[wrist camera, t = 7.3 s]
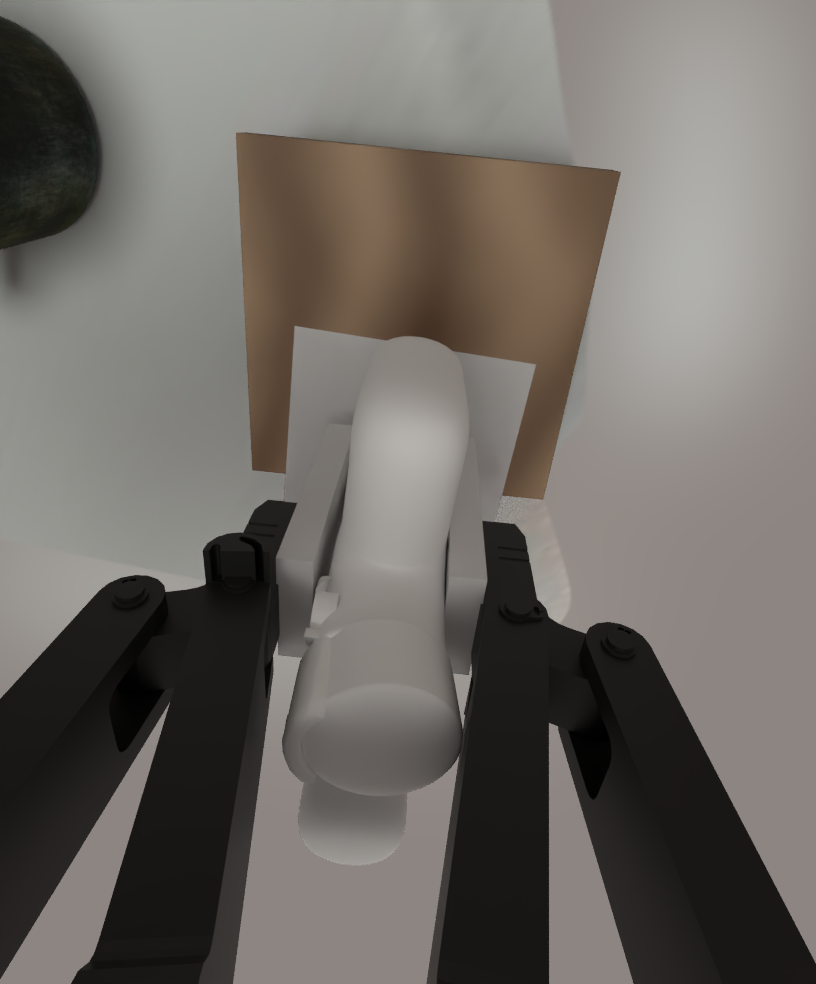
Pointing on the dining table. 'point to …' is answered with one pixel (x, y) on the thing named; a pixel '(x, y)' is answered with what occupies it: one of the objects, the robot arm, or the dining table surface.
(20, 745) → the robot arm
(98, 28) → the dining table surface
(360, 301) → the walnut stool
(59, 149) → the mug
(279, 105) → the dining table surface
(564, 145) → the dining table surface
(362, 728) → the figurine
